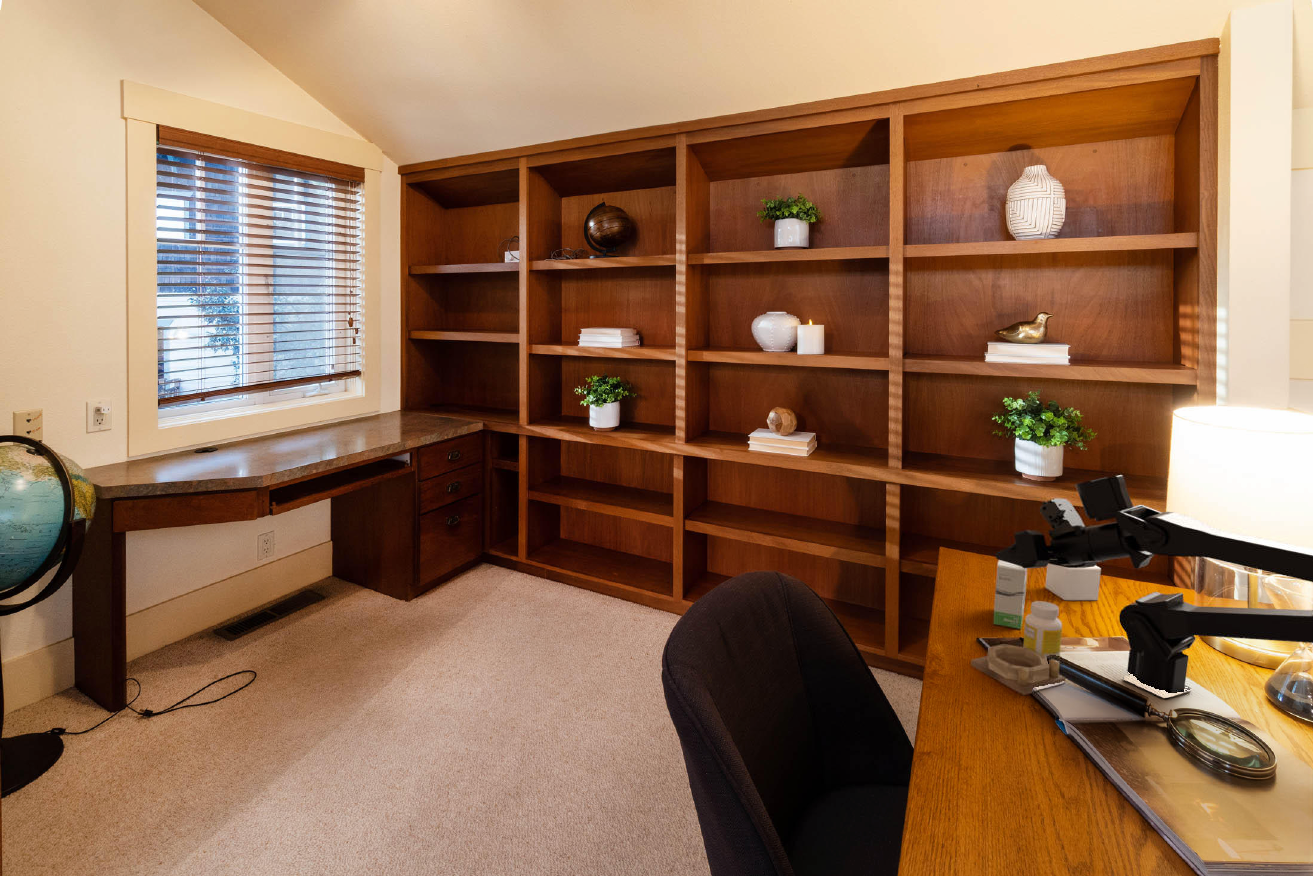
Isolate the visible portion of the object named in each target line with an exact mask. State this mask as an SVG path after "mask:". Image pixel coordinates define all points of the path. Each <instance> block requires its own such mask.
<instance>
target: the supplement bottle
mask: <svg viewBox="0 0 1313 876" xmlns="http://www.w3.org/2000/svg"><path fill="white" fill-rule="evenodd" d="M1059 610H1060V609H1059V606H1058V605H1056V604H1055V603H1051V602H1048V601H1041V600H1036V601H1032V602H1031V606H1030V612H1031V613H1029V614H1027V615H1026V616H1025V620H1024V621H1025V622H1024V634H1023V646H1022V647H1025V648H1029V649H1031V650H1033V651H1035V652H1037V653H1039V654H1041V655H1043V656H1045V657H1047V656H1049V655H1056V656H1060V655H1061V643H1062V630H1063V624H1062V621H1061V620H1060V619H1059V618H1058V617H1059Z"/></svg>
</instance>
